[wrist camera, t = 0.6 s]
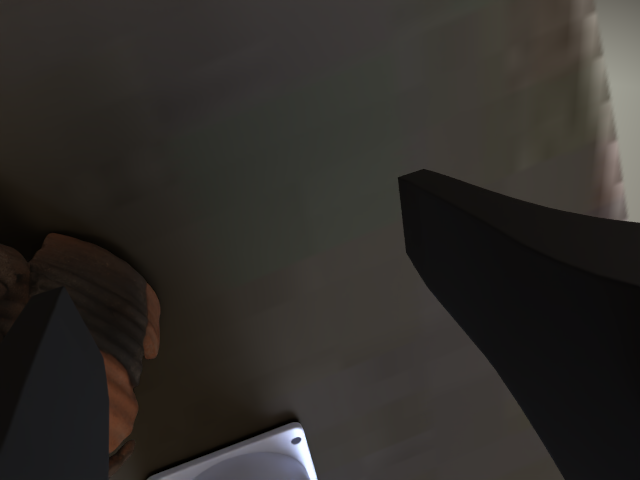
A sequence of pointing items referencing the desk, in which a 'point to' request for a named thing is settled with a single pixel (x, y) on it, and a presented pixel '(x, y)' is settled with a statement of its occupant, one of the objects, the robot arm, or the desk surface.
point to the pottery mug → (92, 315)
